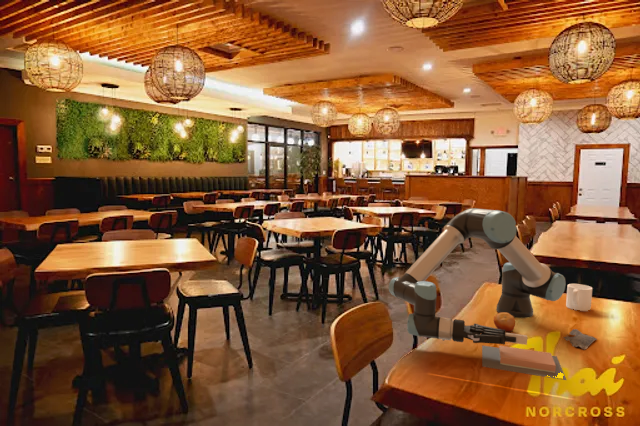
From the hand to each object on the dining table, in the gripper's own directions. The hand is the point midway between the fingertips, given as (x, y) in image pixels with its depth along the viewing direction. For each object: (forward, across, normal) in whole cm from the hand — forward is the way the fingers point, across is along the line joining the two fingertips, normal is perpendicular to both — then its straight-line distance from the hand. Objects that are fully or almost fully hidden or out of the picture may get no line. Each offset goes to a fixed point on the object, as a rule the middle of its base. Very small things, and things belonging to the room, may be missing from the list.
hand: (526, 340), depth 141 cm
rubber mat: (-1, 0, -8) cm, 8 cm away
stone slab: (+21, -30, -9) cm, 38 cm away
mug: (+29, -74, -8) cm, 79 cm away
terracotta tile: (-8, 0, -6) cm, 10 cm away
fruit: (-5, -30, -8) cm, 31 cm away
